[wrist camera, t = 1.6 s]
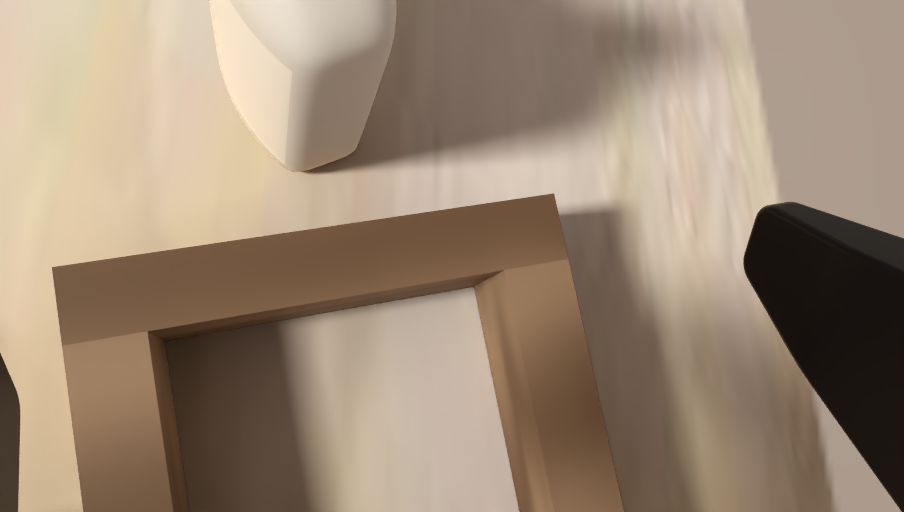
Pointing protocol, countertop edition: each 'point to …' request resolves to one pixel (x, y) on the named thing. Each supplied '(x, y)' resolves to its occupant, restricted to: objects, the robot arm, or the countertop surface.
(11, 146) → the countertop surface
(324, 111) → the eye dropper bottle
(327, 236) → the socket block
